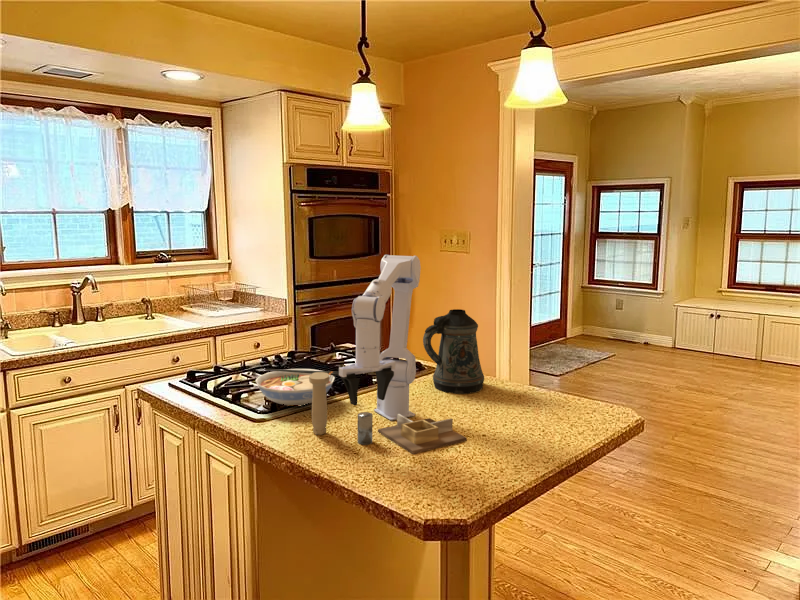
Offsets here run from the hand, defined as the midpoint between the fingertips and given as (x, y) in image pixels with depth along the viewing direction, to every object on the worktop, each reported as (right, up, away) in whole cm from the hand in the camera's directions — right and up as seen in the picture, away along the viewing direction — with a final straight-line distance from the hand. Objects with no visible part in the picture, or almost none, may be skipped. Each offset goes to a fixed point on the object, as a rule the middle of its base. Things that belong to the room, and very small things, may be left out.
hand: (367, 401), depth 144 cm
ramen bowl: (-23, -6, +30) cm, 38 cm away
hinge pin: (-1, -10, +2) cm, 10 cm away
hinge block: (+13, -10, +6) cm, 18 cm away
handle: (-13, -9, +7) cm, 17 cm away
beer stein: (+26, -4, +48) cm, 54 cm away
